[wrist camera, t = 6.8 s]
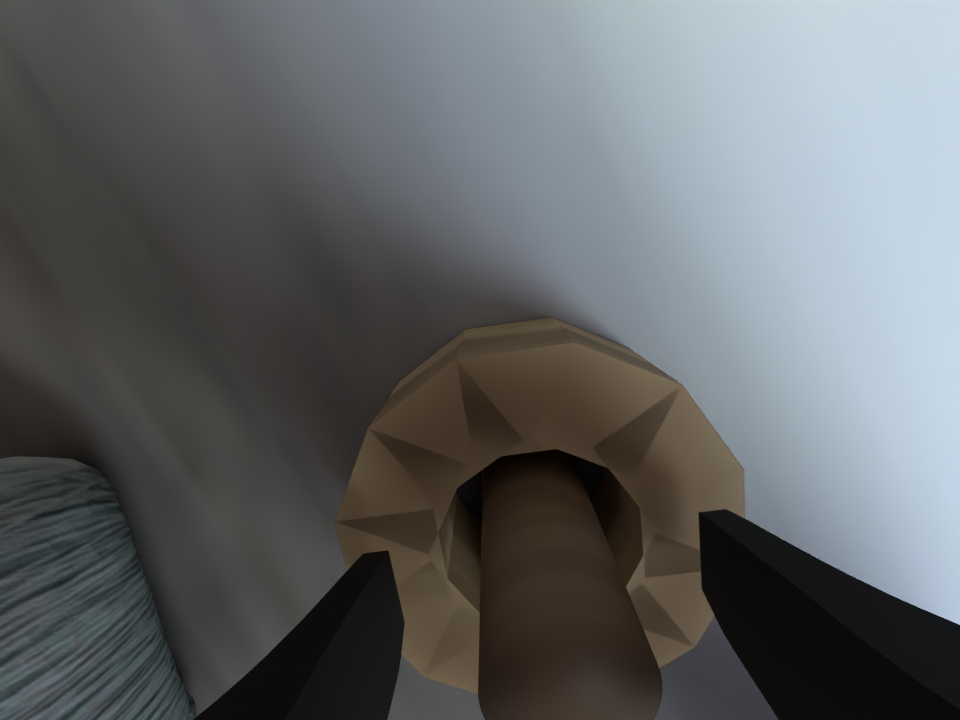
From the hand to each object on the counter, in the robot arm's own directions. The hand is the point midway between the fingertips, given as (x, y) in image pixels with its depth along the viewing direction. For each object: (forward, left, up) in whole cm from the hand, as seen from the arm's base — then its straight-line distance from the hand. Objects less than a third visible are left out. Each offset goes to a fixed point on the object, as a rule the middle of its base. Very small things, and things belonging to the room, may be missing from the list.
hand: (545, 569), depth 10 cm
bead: (0, 0, -5) cm, 5 cm away
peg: (0, 0, -5) cm, 5 cm away
